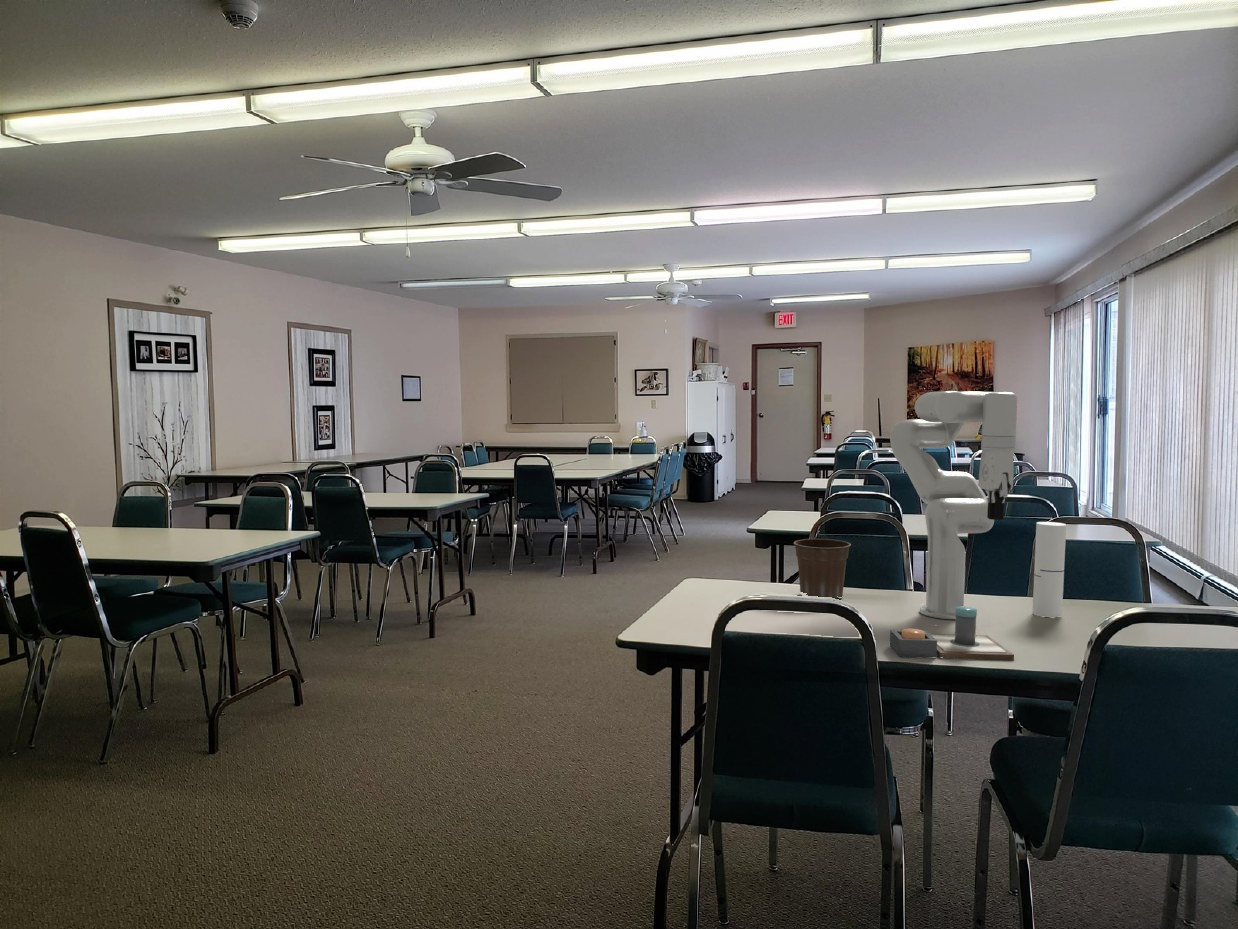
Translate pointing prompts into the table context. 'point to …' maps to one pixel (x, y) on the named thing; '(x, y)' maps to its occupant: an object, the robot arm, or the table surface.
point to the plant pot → (822, 566)
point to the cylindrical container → (1049, 569)
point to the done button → (913, 633)
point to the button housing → (913, 645)
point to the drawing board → (971, 648)
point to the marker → (965, 625)
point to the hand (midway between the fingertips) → (995, 519)
